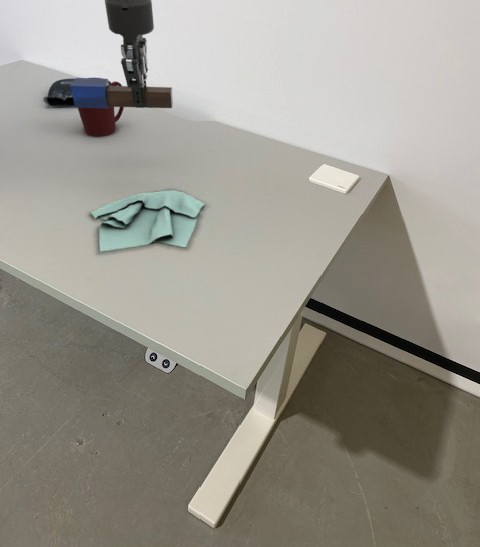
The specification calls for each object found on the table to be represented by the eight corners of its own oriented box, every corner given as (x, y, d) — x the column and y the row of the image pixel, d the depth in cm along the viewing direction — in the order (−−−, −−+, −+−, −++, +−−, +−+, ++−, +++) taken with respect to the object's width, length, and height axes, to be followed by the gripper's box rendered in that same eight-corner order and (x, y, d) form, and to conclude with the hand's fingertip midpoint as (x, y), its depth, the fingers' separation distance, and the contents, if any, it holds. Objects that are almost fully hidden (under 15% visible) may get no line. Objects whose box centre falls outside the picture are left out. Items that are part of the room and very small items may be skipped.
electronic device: (84, 112, 115) (88, 83, 124) (76, 93, 110) (81, 65, 119) (50, 116, 114) (56, 88, 123) (40, 98, 110) (48, 69, 119)
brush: (171, 110, 80) (170, 88, 77) (75, 107, 79) (70, 85, 76) (173, 101, 82) (171, 80, 80) (80, 99, 81) (75, 77, 79)
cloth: (215, 201, 85) (215, 191, 83) (170, 270, 70) (169, 260, 68) (125, 180, 89) (123, 170, 87) (64, 242, 74) (60, 231, 72)
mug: (119, 116, 111) (112, 72, 103) (136, 129, 106) (130, 84, 98) (75, 127, 105) (65, 82, 97) (91, 141, 100) (81, 94, 93)
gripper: (112, -12, 73) (127, 89, 85) (95, 7, 63) (114, 119, 75) (155, -10, 74) (164, 90, 86) (145, 9, 64) (156, 120, 76)
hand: (141, 103), depth 80 cm, fingers closed on brush, 2 cm apart
